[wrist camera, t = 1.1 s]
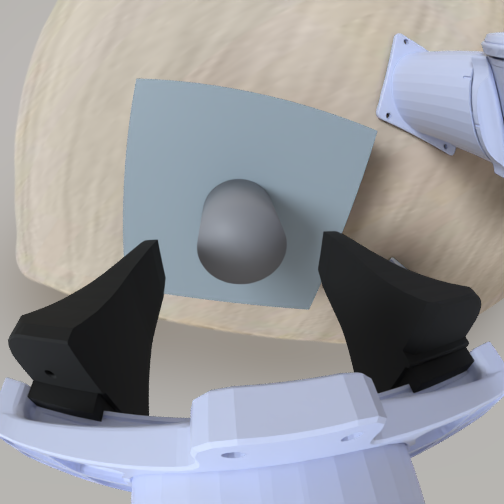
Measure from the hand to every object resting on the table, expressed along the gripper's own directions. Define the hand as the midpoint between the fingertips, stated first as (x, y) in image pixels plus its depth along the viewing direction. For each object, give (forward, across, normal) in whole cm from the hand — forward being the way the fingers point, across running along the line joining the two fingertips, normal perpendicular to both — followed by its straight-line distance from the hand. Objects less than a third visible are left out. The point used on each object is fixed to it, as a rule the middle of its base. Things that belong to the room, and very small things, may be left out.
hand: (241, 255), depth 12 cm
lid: (+6, 0, 0) cm, 6 cm away
